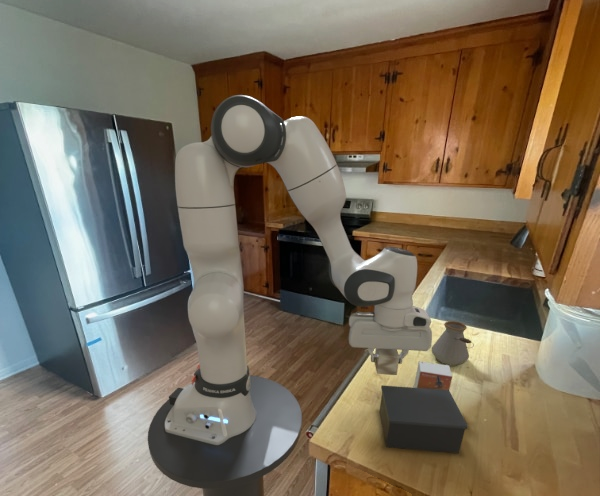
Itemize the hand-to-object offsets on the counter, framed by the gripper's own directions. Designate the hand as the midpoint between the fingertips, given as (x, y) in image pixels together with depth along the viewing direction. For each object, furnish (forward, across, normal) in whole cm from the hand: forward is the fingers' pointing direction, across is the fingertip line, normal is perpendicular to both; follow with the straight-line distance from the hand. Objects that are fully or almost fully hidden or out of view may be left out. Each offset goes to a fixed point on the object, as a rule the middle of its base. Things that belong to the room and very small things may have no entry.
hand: (386, 362), depth 86 cm
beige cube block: (+2, 0, 0) cm, 2 cm away
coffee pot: (+12, +25, +19) cm, 34 cm away
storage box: (+12, +7, -11) cm, 18 cm away
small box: (+12, +13, +1) cm, 18 cm away
